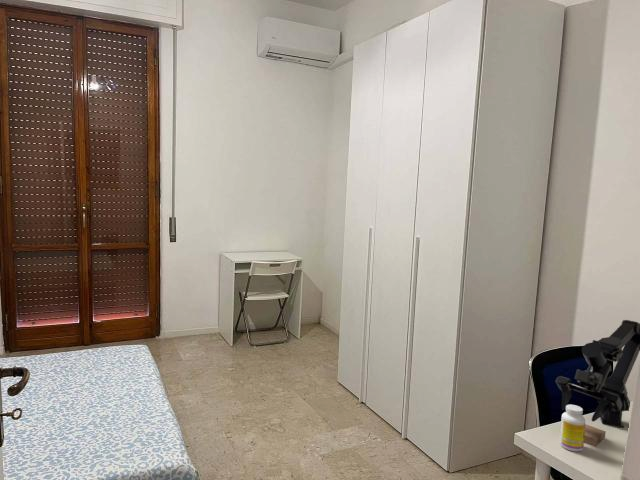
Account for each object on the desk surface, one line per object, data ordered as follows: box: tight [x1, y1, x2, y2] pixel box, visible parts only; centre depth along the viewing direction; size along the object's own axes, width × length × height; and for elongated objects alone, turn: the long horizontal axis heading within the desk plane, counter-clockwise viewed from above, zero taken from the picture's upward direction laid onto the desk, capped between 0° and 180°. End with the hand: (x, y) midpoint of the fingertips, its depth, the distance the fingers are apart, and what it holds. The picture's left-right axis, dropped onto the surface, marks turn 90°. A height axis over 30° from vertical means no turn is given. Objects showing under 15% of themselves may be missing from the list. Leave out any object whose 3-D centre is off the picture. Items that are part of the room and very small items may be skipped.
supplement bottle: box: [559, 404, 586, 452], centre depth 146 cm, size 7×7×13 cm
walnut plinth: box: [584, 423, 607, 448], centre depth 152 cm, size 8×8×2 cm
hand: (577, 414), depth 147 cm, fingers open, 9 cm apart
